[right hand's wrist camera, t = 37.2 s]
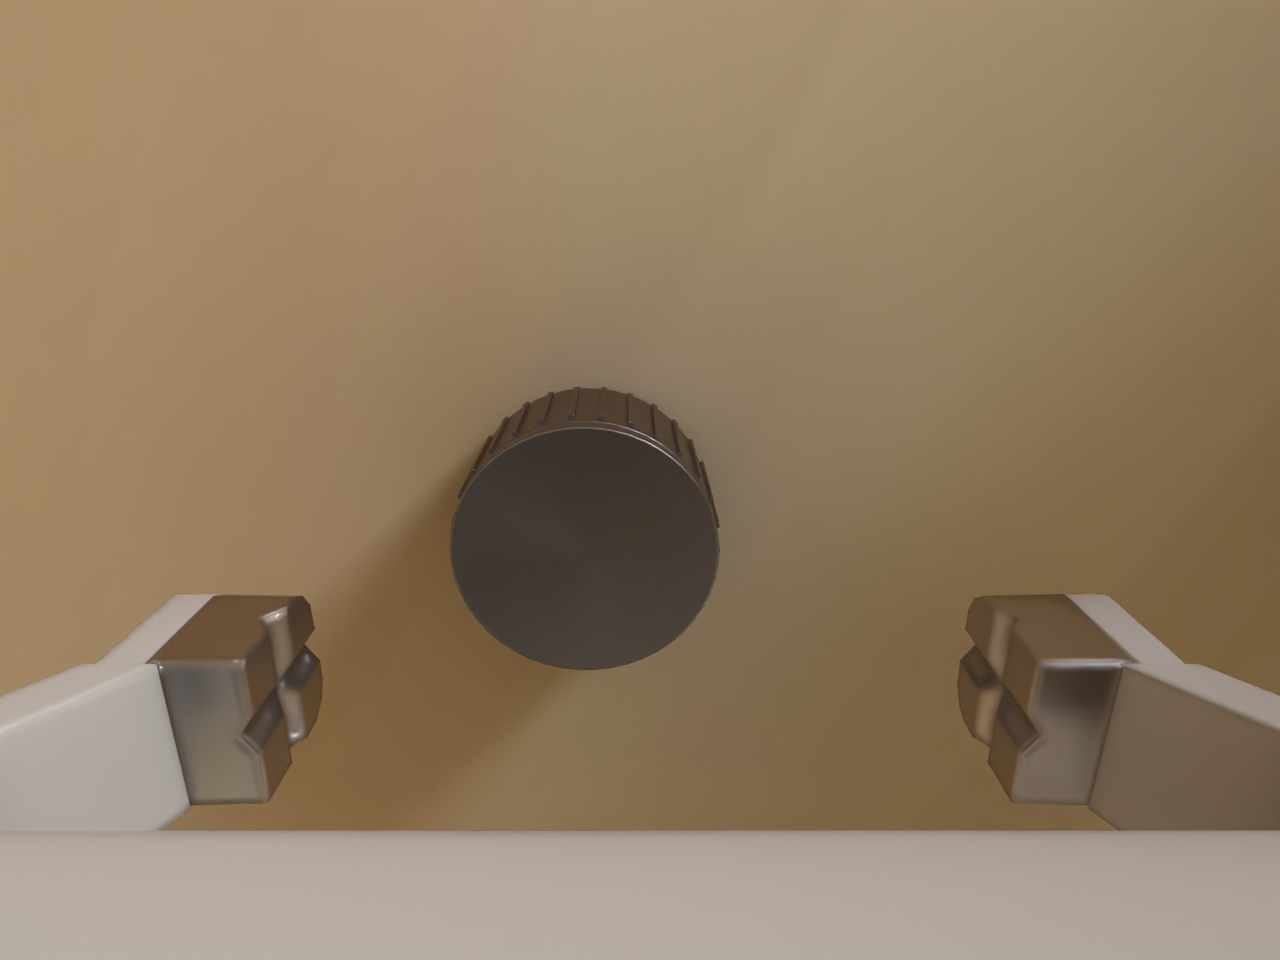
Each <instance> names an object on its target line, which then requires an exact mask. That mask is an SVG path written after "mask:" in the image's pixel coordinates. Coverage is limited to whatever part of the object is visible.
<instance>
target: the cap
mask: <svg viewBox="0 0 1280 960" xmlns="http://www.w3.org/2000/svg"><path fill="white" fill-rule="evenodd" d="M458 498H460V501H459V503H458V506H457V509H456V511H455V514H454V517H453V519H452V527H451V535H450V557H451V565H452V569H453V574H454V578H455V581H456V583H457V586H458V589H459V591H460V594H461V596H462V597H463V599H464V601H465V603H466V605H467V607H468V608H469V610H470V611H471V612H472V614H473V615H474V617H475V618H476V619H477V621H478V622H479V623H480V624H481V625H482V626H483V627H484V628H485V629H486V630H487V631H488V632H489V633H490V634H491V635H492V636H494V637H495V638H496V639H497V640H498V641H500V642H501V643H502V644H504V645H506V646H507V647H509V648H510V649H512V650H513V651H515V652H517V653H519V654H521V655H523V656H525V657H527V658H529V659H532V660H535V661H538V662H540V663H543V664H547V665H551V666H555V667H560V668H567V669H575V670H597V669H607V668H613V667H618V666H622V665H626V664H629V663H632V662H635V661H638V660H641V659H643V658H645V657H647V656H649V655H651V654H654V653H656V652H657V651H659V650H661V649H662V648H664V647H665V646H667V645H668V644H670V643H671V642H672V641H673V640H675V639H676V638H677V637H678V636H679V635H681V634H682V633H683V632H684V631H685V630H686V629H687V628H688V626H689V625H690V624H691V623H692V622H693V621H694V620H695V618H696V617H697V615H698V614H699V613H700V611H701V610H702V608H703V606H704V605H705V603H706V601H707V599H708V597H709V595H710V593H711V590H712V587H713V584H714V581H715V578H716V573H717V568H718V561H719V550H720V549H719V539H718V531H717V528H719V527H720V526H719V520H718V517H717V513H716V509H715V506H714V502H713V501H714V499H713V496H712V492H711V488H710V485H709V481H708V477H707V474H706V470H705V466H704V463H703V461H701V462H699V460H698V457H697V455H696V451H695V447H694V443H693V441H692V440H691V439H690V440H688V439H687V438H686V436H685V435H684V434H683V432H682V431H681V430H680V429H679V428H678V423H677V422H676V421H675V420H673V421H671V420H670V419H669V418H668V417H667V416H666V415H664V414H663V413H662V412H660V411H659V410H658V409H657V406H656V405H654V404H652V406H651V405H649V404H648V403H646V402H644V401H642V400H640V399H637V398H635V397H633V394H631V393H628V395H627V394H623V393H619V392H616V391H610V390H607V388H605V387H602V389H580V387H575V388H574V390H566V391H562V392H558V393H554V394H553V392H549V393H548V395H547V396H545V397H543V398H540V399H538V400H536V401H534V402H532V403H530V404H529V402H526V403H525V404H524V405H523V407H522V409H520V410H519V411H518V412H516V413H515V414H514V415H512V416H511V417H510V418H507V417H506V418H505V419H503V421H502V423H501V425H500V427H499V429H498V431H497V432H496V433H495V435H494V436H493V437H491V436H489V437H488V439H487V440H486V442H485V444H484V446H483V448H482V450H481V452H480V454H479V456H478V458H477V460H476V462H475V463H474V465H473V467H472V469H471V471H470V473H469V475H468V477H467V479H466V481H465V483H464V485H463V487H462V489H461V490H460V492H459V495H458Z"/></svg>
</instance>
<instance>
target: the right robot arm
mask: <svg viewBox="0 0 1280 960" xmlns="http://www.w3.org/2000/svg"><path fill="white" fill-rule="evenodd" d="M314 629H315V627H314V622H313V617H312V612H311V607H310V604H309V603H308V602H307V601H306V599H305V598H304V597H303V596H278V595H220V594H185V595H172V596H171V597H170V598H169V599H168V600H167V601H165V602H164V603H163V604H162V605H161V606H160V607H159V608H157V609H156V610H155V611H154V612H153V613H152V614H151V615H150V616H148V617H147V618H146V619H145V620H144V621H143V622H142V623H140V624H139V625H138V626H137V627H136V628H135V629H134V630H133V631H131V632H130V633H129V634H128V635H127V636H126V637H125V638H124V639H122V640H121V641H120V642H119V643H118V644H117V645H116V646H114V647H113V648H112V649H111V650H110V651H109V652H108V653H107V654H105V655H104V656H103V657H102V658H101V659H100V660H99V661H98V662H96V663H95V664H80V665H77V666H74V667H72V668H69V669H67V670H64V671H62V672H59V673H57V674H54V675H52V676H49V677H46V678H44V679H41V680H39V681H36V682H34V683H31V684H29V685H26V686H24V687H21V688H18V689H16V690H13V691H11V692H8V693H6V694H3V695H1V696H0V960H1280V696H1279V695H1277V694H1274V693H1272V692H1269V691H1266V690H1264V689H1261V688H1259V687H1256V686H1254V685H1251V684H1249V683H1246V682H1244V681H1241V680H1239V679H1236V678H1234V677H1231V676H1228V675H1226V674H1223V673H1221V672H1218V671H1216V670H1213V669H1211V668H1208V667H1206V666H1203V665H1201V664H1185V663H1184V662H1183V661H1181V660H1180V659H1179V658H1178V657H1177V656H1176V655H1175V654H1174V653H1172V652H1171V651H1170V650H1169V649H1168V648H1167V647H1166V646H1165V645H1163V644H1162V643H1161V642H1160V641H1159V640H1158V639H1157V638H1156V637H1154V636H1153V635H1152V634H1151V633H1150V632H1149V631H1148V630H1146V629H1145V628H1144V627H1143V626H1142V625H1141V624H1140V623H1139V622H1137V621H1136V620H1135V619H1134V618H1133V617H1132V616H1131V615H1130V614H1128V613H1127V612H1126V611H1125V610H1124V609H1123V608H1122V607H1121V606H1119V605H1118V604H1117V603H1116V602H1115V601H1114V600H1113V599H1112V598H1110V597H1109V596H1106V595H1102V594H1098V593H1095V594H1073V595H1064V594H1050V595H1008V596H982V597H977V598H974V599H973V601H972V604H971V606H970V608H969V610H968V616H967V622H966V627H965V629H966V631H967V632H968V634H969V635H970V637H971V639H972V640H973V642H974V643H975V645H974V647H973V648H972V649H971V650H970V651H969V652H968V653H967V654H966V655H965V656H964V657H963V658H962V659H961V660H960V666H959V674H958V682H957V687H958V698H959V707H960V710H961V713H962V716H963V719H964V723H965V724H966V726H967V728H968V730H969V731H970V733H971V735H972V737H973V738H975V739H977V740H978V741H980V742H982V743H983V744H985V745H987V746H988V747H990V752H989V758H988V764H989V765H990V767H991V769H992V770H993V772H994V774H995V775H996V777H997V779H998V780H999V782H1000V784H1001V785H1002V787H1003V789H1004V790H1005V792H1006V794H1007V795H1008V797H1009V799H1010V800H1011V802H1012V803H1026V804H1063V805H1090V806H1089V809H1090V810H1092V811H1093V812H1094V813H1096V814H1097V815H1098V816H1100V817H1101V818H1102V819H1104V820H1105V821H1107V822H1108V823H1109V824H1111V825H1112V826H1113V827H1115V828H1116V829H1117V830H163V829H164V828H166V827H167V826H168V825H170V824H171V823H172V822H174V821H175V820H177V819H178V818H179V817H181V816H182V815H183V814H185V813H186V812H187V811H189V810H190V809H191V806H190V805H216V804H252V803H268V802H269V800H270V799H271V797H272V795H273V794H274V792H275V790H276V789H277V787H278V786H279V784H280V782H281V781H282V779H283V777H284V776H285V774H286V772H287V771H288V769H289V767H290V766H291V764H292V758H291V752H290V747H292V746H294V745H295V744H297V743H298V742H300V741H302V740H303V739H305V738H307V737H308V735H309V733H310V731H311V730H312V728H313V726H314V724H315V722H316V721H317V717H318V713H319V708H320V704H321V700H322V672H321V665H320V660H319V659H318V658H317V657H316V656H315V655H314V654H313V653H312V652H311V651H310V650H309V649H308V648H307V646H306V645H305V643H306V642H307V640H308V639H309V637H310V635H311V634H312V632H313V631H314Z"/></svg>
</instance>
